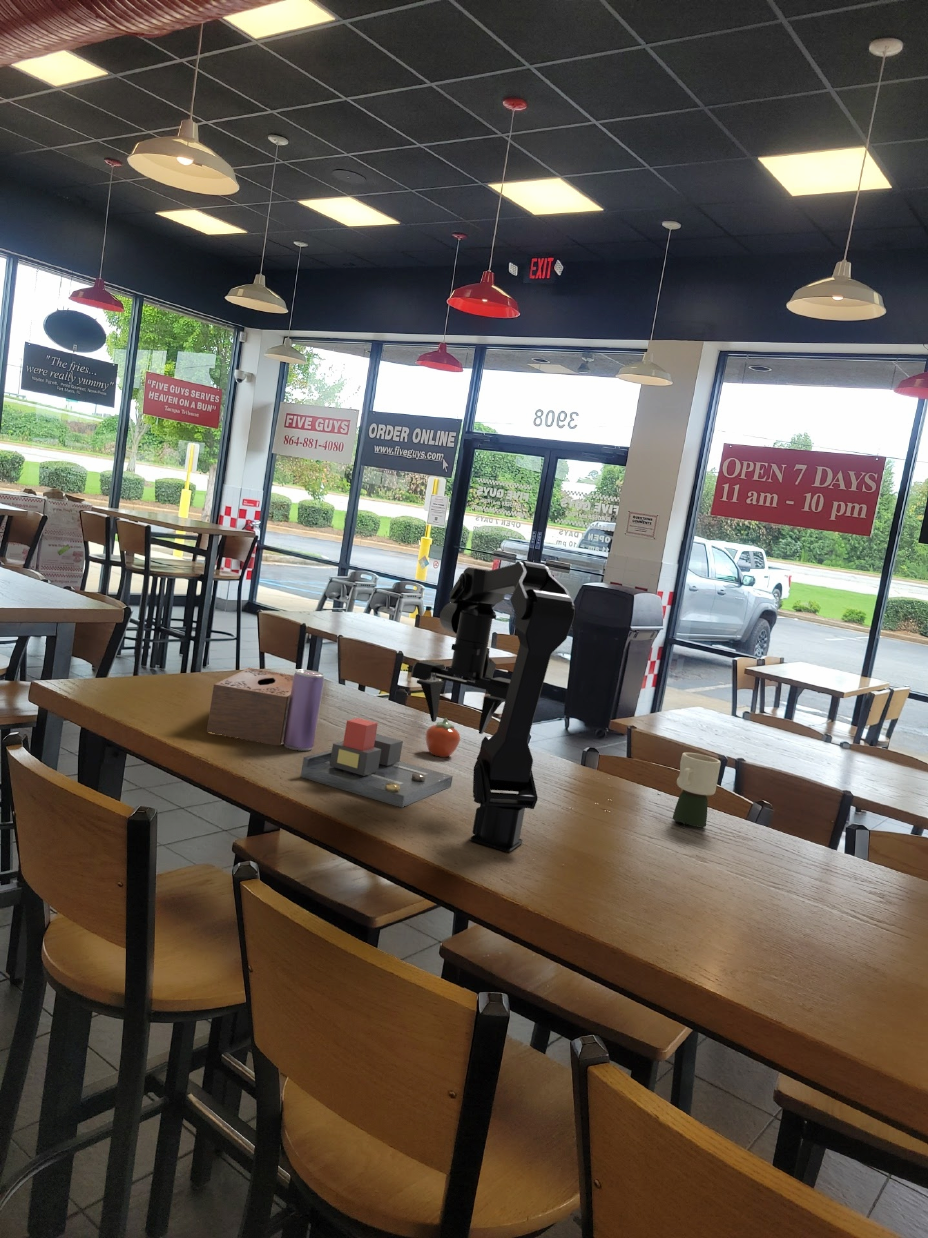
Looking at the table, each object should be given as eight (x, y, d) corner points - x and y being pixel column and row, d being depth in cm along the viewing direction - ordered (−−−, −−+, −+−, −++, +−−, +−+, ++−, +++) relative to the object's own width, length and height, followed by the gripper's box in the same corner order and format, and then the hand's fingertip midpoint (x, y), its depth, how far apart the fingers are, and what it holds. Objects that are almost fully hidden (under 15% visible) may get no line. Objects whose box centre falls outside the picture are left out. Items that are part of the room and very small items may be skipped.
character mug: (685, 815, 174) (697, 750, 173) (719, 827, 169) (732, 761, 168) (657, 822, 165) (670, 753, 164) (692, 834, 161) (705, 764, 160)
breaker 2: (399, 761, 168) (402, 741, 167) (387, 765, 163) (390, 744, 163) (367, 752, 170) (370, 732, 170) (354, 756, 166) (357, 735, 165)
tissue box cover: (242, 711, 199) (248, 667, 199) (305, 722, 199) (312, 678, 198) (206, 734, 174) (213, 684, 173) (279, 747, 174) (287, 697, 173)
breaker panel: (450, 786, 165) (454, 768, 165) (402, 807, 147) (405, 787, 147) (357, 760, 173) (360, 742, 173) (300, 777, 154) (303, 757, 154)
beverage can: (306, 753, 171) (318, 677, 170) (277, 747, 172) (289, 671, 171) (317, 747, 177) (329, 673, 176) (289, 741, 178) (301, 668, 177)
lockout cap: (373, 748, 158) (377, 723, 158) (362, 751, 154) (366, 725, 154) (354, 742, 159) (358, 718, 159) (342, 745, 156) (346, 720, 155)
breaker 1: (377, 771, 158) (381, 749, 158) (363, 776, 153) (367, 753, 153) (343, 761, 161) (347, 740, 161) (328, 766, 156) (332, 743, 156)
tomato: (450, 751, 194) (457, 715, 193) (461, 761, 187) (468, 724, 186) (418, 748, 191) (424, 712, 191) (427, 758, 184) (434, 720, 184)
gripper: (536, 649, 160) (521, 734, 161) (443, 629, 167) (429, 711, 168) (515, 651, 150) (499, 742, 151) (417, 630, 157) (402, 717, 158)
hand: (457, 727), depth 157 cm, fingers open, 9 cm apart
